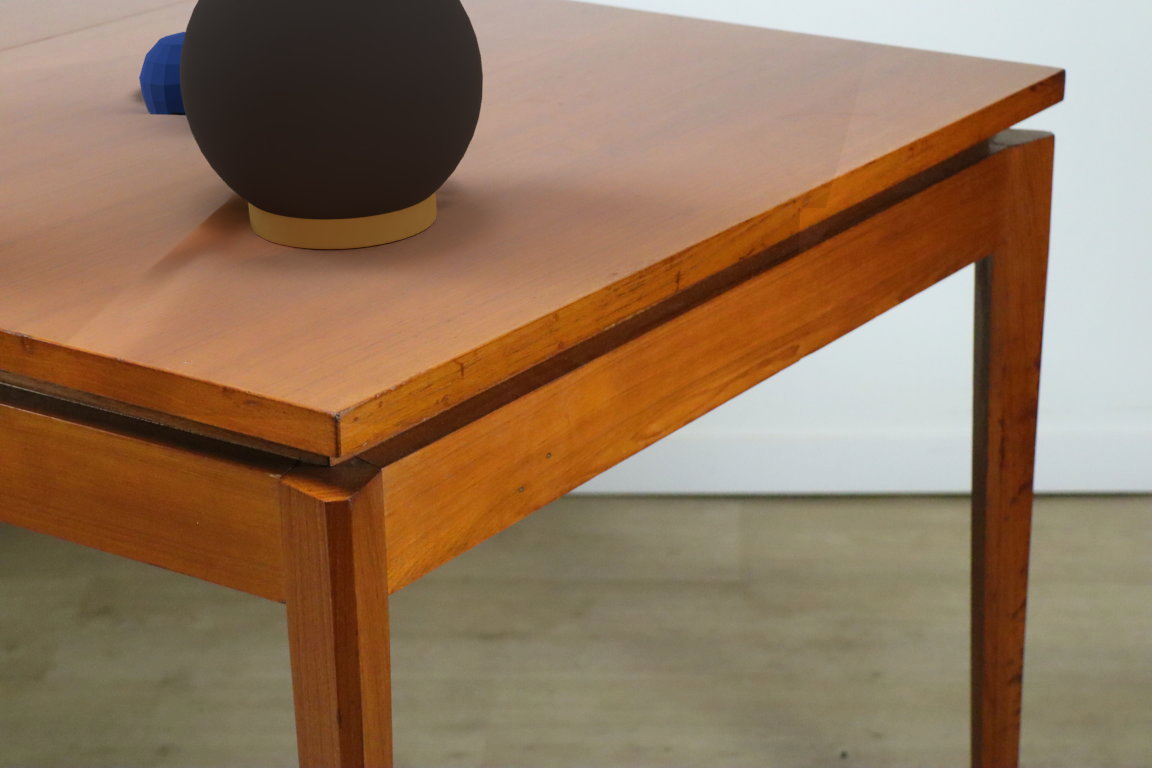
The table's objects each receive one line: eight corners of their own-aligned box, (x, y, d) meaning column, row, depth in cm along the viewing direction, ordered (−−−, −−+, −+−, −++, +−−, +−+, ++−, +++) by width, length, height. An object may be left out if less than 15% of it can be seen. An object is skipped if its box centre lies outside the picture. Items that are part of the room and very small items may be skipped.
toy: (330, 153, 86) (226, 92, 97) (324, 45, 83) (217, -6, 94) (217, 174, 83) (123, 107, 94) (206, 61, 80) (110, 6, 91)
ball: (151, 266, 69) (108, -60, 63) (254, 176, 81) (226, -102, 75) (454, 278, 67) (439, -56, 61) (511, 185, 79) (503, -100, 73)
